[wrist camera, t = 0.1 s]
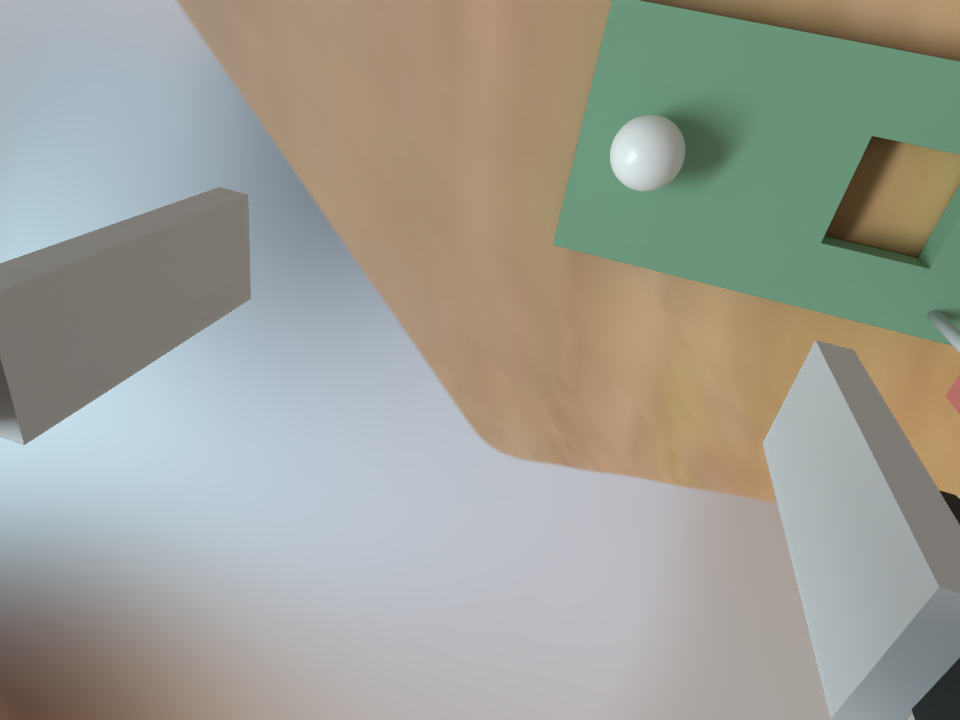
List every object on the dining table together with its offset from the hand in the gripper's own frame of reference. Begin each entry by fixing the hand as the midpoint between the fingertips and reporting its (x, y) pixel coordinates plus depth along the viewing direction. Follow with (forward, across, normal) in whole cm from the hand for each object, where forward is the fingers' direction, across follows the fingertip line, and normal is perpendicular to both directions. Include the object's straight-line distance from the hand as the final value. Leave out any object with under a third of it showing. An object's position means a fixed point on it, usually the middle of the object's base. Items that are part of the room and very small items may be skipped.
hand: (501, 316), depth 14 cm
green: (+28, +12, 0) cm, 30 cm away
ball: (+24, +3, 0) cm, 24 cm away
